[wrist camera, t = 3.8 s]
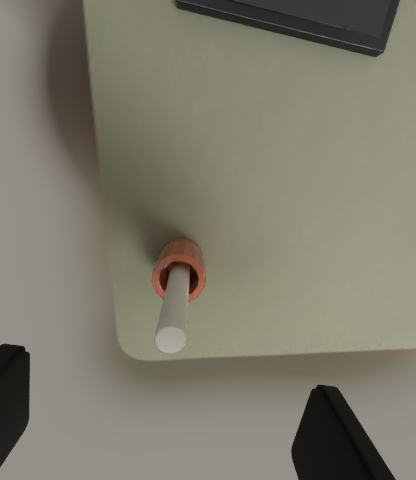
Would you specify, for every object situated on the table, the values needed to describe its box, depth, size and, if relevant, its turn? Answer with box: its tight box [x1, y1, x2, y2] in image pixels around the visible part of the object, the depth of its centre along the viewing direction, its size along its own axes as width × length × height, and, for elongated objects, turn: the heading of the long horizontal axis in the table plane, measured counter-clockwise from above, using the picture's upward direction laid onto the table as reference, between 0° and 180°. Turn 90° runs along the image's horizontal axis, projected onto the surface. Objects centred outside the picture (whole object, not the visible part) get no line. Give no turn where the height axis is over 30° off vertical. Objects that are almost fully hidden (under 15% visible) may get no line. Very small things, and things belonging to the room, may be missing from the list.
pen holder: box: [152, 239, 206, 302], centre depth 20 cm, size 4×4×4 cm
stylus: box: [154, 261, 190, 353], centre depth 16 cm, size 1×1×10 cm
